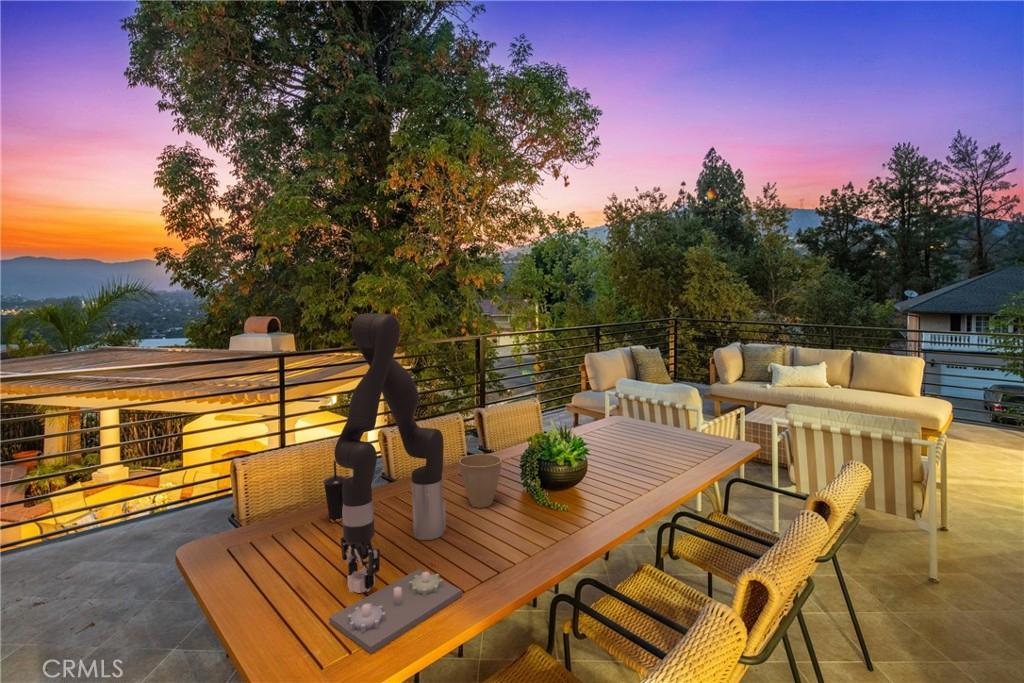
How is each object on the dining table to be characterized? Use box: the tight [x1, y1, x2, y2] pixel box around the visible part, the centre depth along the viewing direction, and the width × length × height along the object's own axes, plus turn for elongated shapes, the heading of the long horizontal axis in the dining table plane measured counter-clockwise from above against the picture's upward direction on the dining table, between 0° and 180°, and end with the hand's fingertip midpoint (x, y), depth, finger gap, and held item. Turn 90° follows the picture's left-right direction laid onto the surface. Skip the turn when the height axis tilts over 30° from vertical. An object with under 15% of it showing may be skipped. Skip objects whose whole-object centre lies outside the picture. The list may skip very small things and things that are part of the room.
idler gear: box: [347, 568, 376, 594], centre depth 128 cm, size 6×6×3 cm
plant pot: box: [458, 453, 503, 509], centre depth 179 cm, size 15×15×16 cm
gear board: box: [328, 568, 463, 655], centre depth 119 cm, size 26×16×5 cm, turn 140°
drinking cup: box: [322, 460, 348, 520], centre depth 168 cm, size 8×8×20 cm
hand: (361, 582), depth 128 cm, fingers closed on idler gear, 6 cm apart
